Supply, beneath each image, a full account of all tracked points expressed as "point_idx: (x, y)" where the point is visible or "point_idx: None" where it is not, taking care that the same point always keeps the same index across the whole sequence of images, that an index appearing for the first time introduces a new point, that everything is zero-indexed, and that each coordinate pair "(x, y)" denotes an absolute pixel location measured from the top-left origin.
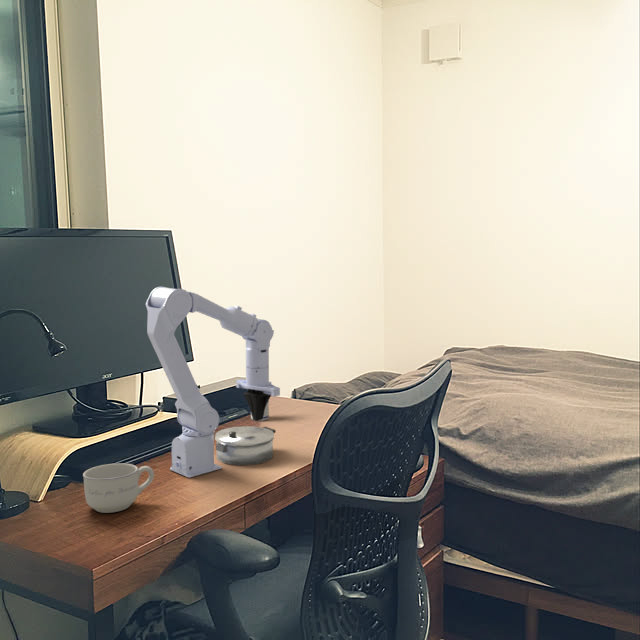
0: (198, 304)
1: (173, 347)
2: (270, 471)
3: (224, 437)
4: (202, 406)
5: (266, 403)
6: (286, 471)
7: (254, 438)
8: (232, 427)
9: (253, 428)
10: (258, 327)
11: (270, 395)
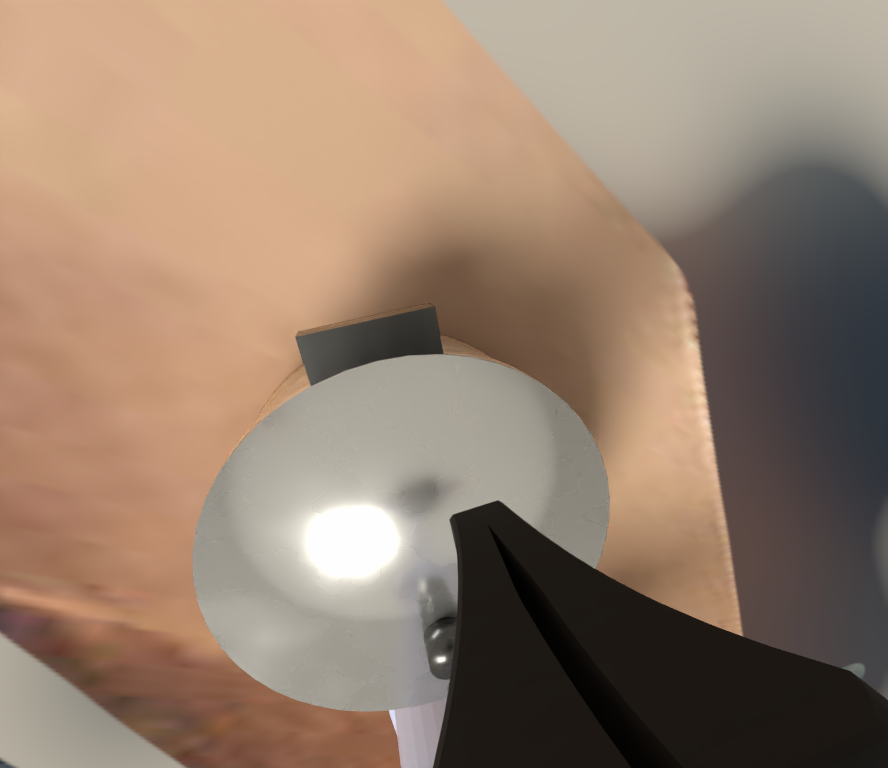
0: None
1: None
2: (640, 451)
3: (424, 673)
4: None
5: (650, 605)
6: (682, 395)
7: (546, 532)
8: (198, 586)
9: (313, 455)
10: None
11: (859, 696)
